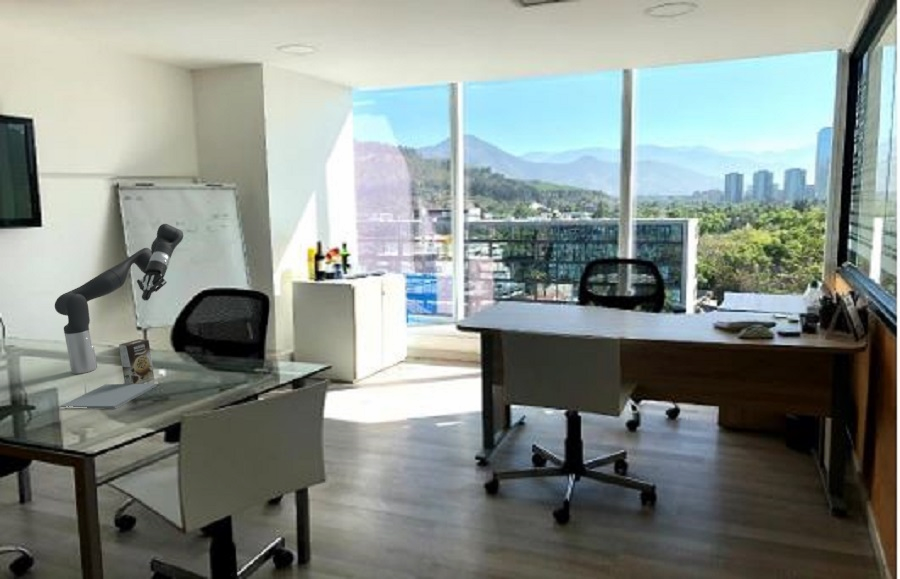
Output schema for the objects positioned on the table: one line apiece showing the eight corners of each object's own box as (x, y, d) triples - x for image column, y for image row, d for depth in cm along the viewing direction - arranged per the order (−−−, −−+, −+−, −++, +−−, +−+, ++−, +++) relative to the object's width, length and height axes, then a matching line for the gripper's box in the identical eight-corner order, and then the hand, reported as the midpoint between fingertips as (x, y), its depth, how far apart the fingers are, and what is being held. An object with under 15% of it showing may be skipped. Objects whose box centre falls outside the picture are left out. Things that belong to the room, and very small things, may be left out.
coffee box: (134, 386, 262) (127, 345, 259) (124, 384, 265) (117, 344, 262) (155, 379, 269) (149, 339, 266) (145, 377, 273) (139, 338, 270)
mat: (105, 386, 264) (105, 384, 264) (156, 386, 260) (156, 383, 259) (59, 409, 241) (59, 406, 241) (115, 408, 236) (114, 406, 236)
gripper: (177, 269, 289) (164, 303, 280) (149, 270, 292) (135, 305, 282) (167, 258, 283) (154, 293, 274) (139, 260, 286) (125, 295, 276)
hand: (144, 299), depth 278 cm, fingers closed
